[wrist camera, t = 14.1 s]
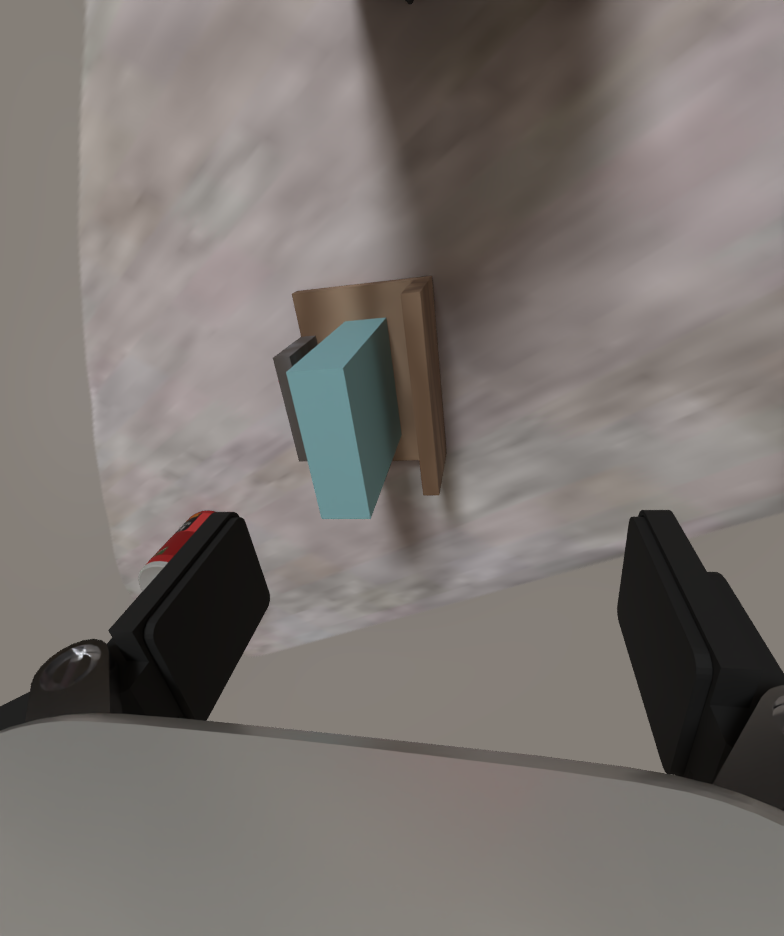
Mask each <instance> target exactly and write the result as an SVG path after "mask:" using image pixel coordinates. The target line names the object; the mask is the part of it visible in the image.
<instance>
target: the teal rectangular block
mask: <svg viewBox="0 0 784 936" xmlns="http://www.w3.org/2000/svg"><path fill="white" fill-rule="evenodd" d="M286 374H287V378H288V382H289V387H290V391H291V395H292V399H293V403H294V407H295V411H296V415H297V419H298V423H299V428H300V432H301V436H302V440H303V444H304V448H305V452H306V456H307V460H308V465H309V469H310V473H311V477H312V481H313V485H314V489H315V493H316V497H317V502H318V506H319V510H320V514H321V518H322V519H371V516H372V513H373V511H374V508H375V505H376V503H377V500H378V497H379V495H380V492H381V489H382V486H383V484H384V481H385V478H386V476H387V473H388V470H389V468H390V465H391V462H392V459H393V457H394V454H395V451H396V449H397V446H398V443H399V441H400V438H401V435H402V434H401V426H400V419H399V411H398V403H397V396H396V388H395V380H394V373H393V365H392V357H391V350H390V342H389V334H388V327H387V319H386V318H375V319H365V320H354V321H345V322H344V323H343V324H341V325H340V326H339V327H338V328H337V329H336V330H334V331H333V332H332V333H331V334H330V335H329V336H327V337H326V338H325V339H324V340H323V341H322V342H320V343H319V344H318V345H317V346H316V347H315V348H313V349H312V350H311V351H310V352H309V353H308V354H307V355H305V356H304V357H303V358H302V359H301V360H300V361H298V362H297V363H296V364H295V365H294V366H293V367H291V368H290V369H289V370H288V371H287V372H286Z"/></svg>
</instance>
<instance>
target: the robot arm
mask: <svg viewBox="0 0 784 936" xmlns="http://www.w3.org/2000/svg"><path fill="white" fill-rule="evenodd" d="M269 602H270V594H269V590H268V587H267V584H266V581H265V578H264V575H263V572H262V570H261V567H260V564H259V561H258V558H257V555H256V552H255V549H254V546H253V543H252V540H251V537H250V534H249V531H248V528H247V525H246V523H245V520H244V519H243V518H241V517H239V515H238V514H237V513H235V512H214V513H212V514H211V515H209V517H208V518H207V519H206V520H205V521H204V522H203V523H202V525H201V526H200V527H199V528H198V529H197V530H196V531H195V533H194V534H193V535H192V536H191V537H190V538H189V539H188V540H187V542H186V543H185V544H184V545H183V546H182V547H181V548H180V550H179V551H178V552H177V553H176V554H175V555H174V556H173V558H172V559H171V560H170V561H169V562H168V563H167V564H166V565H165V567H164V568H163V569H162V570H161V571H160V572H159V573H158V575H157V576H156V577H155V578H154V579H153V580H152V581H151V583H150V584H149V585H148V586H147V587H146V588H145V589H144V590H143V592H142V593H141V594H140V595H139V596H138V597H137V598H136V600H135V601H134V602H133V603H132V604H131V605H130V606H129V608H128V609H127V610H126V611H125V612H124V614H122V616H121V617H120V618H119V619H118V620H117V621H116V622H115V624H114V625H113V626H112V627H111V628H110V629H109V633H110V634H111V636H112V639H111V640H110V641H109V642H108V643H107V644H106V643H105V642H103V641H102V640H97V639H90V640H83V641H80V642H77V643H74V644H71V645H70V646H68V647H66V648H64V649H62V650H60V651H59V652H57V653H56V654H55V655H53V656H52V657H50V658H49V659H48V660H47V661H46V662H45V663H44V664H43V665H42V666H41V667H40V669H39V670H38V671H37V673H36V674H35V675H34V678H33V680H32V683H31V688H30V692H28V693H26V694H24V695H22V696H20V697H18V698H16V699H15V700H12V701H10V702H8V703H6V704H4V705H2V706H0V936H784V673H783V671H782V670H781V668H780V667H779V665H778V663H777V662H776V660H775V658H774V657H773V655H772V654H771V652H770V650H769V649H768V647H767V645H766V644H765V642H764V641H763V639H762V637H761V636H760V634H759V633H758V631H757V629H756V628H755V626H754V625H753V623H752V621H751V620H750V618H749V616H748V615H747V613H746V612H745V610H744V608H743V607H742V605H741V603H740V602H739V600H738V598H737V597H736V595H735V594H734V592H733V590H732V589H731V587H730V586H729V584H728V582H727V581H726V579H725V578H724V577H723V576H722V575H721V574H720V573H718V572H707V571H706V569H705V568H704V566H703V565H702V563H701V561H700V559H699V557H698V556H697V554H696V552H695V551H694V549H693V547H692V545H691V544H690V542H689V540H688V538H687V537H686V535H685V533H684V531H683V530H682V528H681V526H680V525H679V523H678V521H677V519H676V518H675V516H674V514H673V513H672V512H671V511H670V510H641V511H640V513H639V515H638V517H631V518H630V520H629V526H628V533H627V540H626V547H625V555H624V562H623V569H622V577H621V584H620V592H619V598H618V606H617V613H618V620H619V624H620V627H621V631H622V634H623V637H624V641H625V644H626V647H627V650H628V654H629V657H630V660H631V664H632V667H633V670H634V674H635V677H636V680H637V684H638V687H639V690H640V693H641V697H642V700H643V703H644V707H645V710H646V713H647V717H648V720H649V723H650V726H651V730H652V733H653V736H654V740H655V743H656V746H657V749H658V753H659V756H660V759H661V762H662V766H663V768H664V770H665V772H666V773H667V774H664V773H658V772H653V771H647V770H641V769H635V768H629V767H623V766H614V765H607V764H599V763H591V762H583V761H575V760H567V759H560V758H552V757H544V756H536V755H526V754H517V753H508V752H499V751H489V750H481V749H472V748H463V747H454V746H444V745H436V744H427V743H418V742H408V741H399V740H389V739H380V738H370V737H361V736H351V735H342V734H331V733H322V732H313V731H302V730H293V729H284V728H274V727H263V726H254V725H243V724H233V723H223V722H213V721H206V720H207V719H208V717H209V715H210V713H211V711H212V710H213V708H214V706H215V704H216V702H217V700H218V699H219V697H220V695H221V693H222V691H223V689H224V687H225V686H226V684H227V682H228V680H229V678H230V676H231V674H232V673H233V671H234V669H235V667H236V665H237V663H238V661H239V660H240V658H241V656H242V654H243V652H244V650H245V649H246V647H247V645H248V643H249V641H250V639H251V638H252V636H253V634H254V632H255V630H256V628H257V626H258V625H259V623H260V621H261V619H262V617H263V615H264V613H265V612H266V610H267V608H268V606H269ZM670 774H672V775H670Z"/></svg>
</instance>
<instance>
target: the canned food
mask: <svg viewBox="0 0 784 936" xmlns="http://www.w3.org/2000/svg"><path fill="white" fill-rule="evenodd" d="M214 512H215V511H201V512H198V513H196V514H194V515H193V516H191V517H190V518H189V519H188V520H187V521H186V522H185V523H184V524H183V525H182V526H181V528H180V529H179V530H178V531H177V532H176V533H175V534H174V535H173V536H172V537H171V538H170V539H169V540H168V541H167V542H166V543H165V544H164V546H163V547H162V548H161V549H160V550H159V551H158V552H157V553H156V554H155V555H154V556H153V557H152V558H151V559H150V561H149V562H148V563H147V564H146V565H145V566H144V567H143V569H142V570H141V571H140V573H139V576H138V581H139V585H140V587H141V590H142V591H143V590H144V589H145V588H146V587H147V586H148V585H149V584H150V583H151V581H152V580H153V579H154V578H155V577H156V576H157V575H158V573H159V572H160V571H161V570H162V569H163V568H164V567H165V565H166V564H167V563H168V562H169V561H170V560H171V559H172V558H173V556H174V555H175V554H176V553H177V552H178V551H179V550H180V548H181V547H182V546H183V545H184V544H185V543H186V542H187V540H188V539H189V538H190V537H191V536H192V535H193V534H194V533H195V531H196V530H197V529H198V528H199V527H200V526H201V525H202V523H203V522H204V521H205V520H206V519H207V518H208V517H209V515H211V514H212V513H214Z"/></svg>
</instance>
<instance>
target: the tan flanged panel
mask: <svg viewBox="0 0 784 936" xmlns="http://www.w3.org/2000/svg"><path fill="white" fill-rule="evenodd" d="M292 297H293V301H294V306H295V311H296V315H297V320H298V324H299V329H300V333H301V337H300V338H299V339H298V340H296V341H295V342H294V343H292V344H291V345H290V346H288V347H287V348H286V349H284V350H283V351H282V352H280V353H279V354H278V355H276V356H275V357H273V360H274V364H275V368H276V372H277V376H278V380H279V384H280V388H281V392H282V395H283V399H284V403H285V407H286V411H287V415H288V419H289V423H290V427H291V431H292V435H293V439H294V443H295V447H296V451H297V455H298V459H299V461H308V460H307V456H306V452H305V448H304V444H303V440H302V436H301V432H300V428H299V423H298V419H297V415H296V411H295V407H294V403H293V399H292V395H291V391H290V387H289V382H288V378H287V374H286V372H287V371H288V370H289V369H290V368H291V367H293V366H294V365H295V364H296V363H297V362H298V361H300V360H301V359H302V358H303V357H304V356H305V355H307V354H308V353H309V352H310V351H311V350H312V349H313V348H315V347H316V346H317V345H318V344H319V343H320V342H322V341H323V340H324V339H325V338H326V337H327V336H329V335H330V334H331V333H332V332H333V331H334V330H336V329H337V328H338V327H339V326H340V325H341V324H343V323H344V322H345V321H354V320H365V319H375V318H386V319H387V327H388V334H389V342H390V350H391V357H392V365H393V373H394V380H395V388H396V396H397V403H398V411H399V419H400V426H401V434H402V435H401V438H400V441H399V443H398V446H397V449H396V451H395V454H394V457H393V459H392V461H403V460H419V462H420V471H421V480H422V488H423V495H439V494H440V488H441V482H442V476H443V470H444V464H445V459H446V441H445V428H444V416H443V404H442V392H441V380H440V368H439V355H438V343H437V331H436V319H435V307H434V294H433V282H432V276H425V277H416V278H408V279H399V280H390V281H381V282H373V283H364V284H355V285H346V286H338V287H329V288H320V289H312V290H303V291H297V292H295V293H293V294H292Z"/></svg>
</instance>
